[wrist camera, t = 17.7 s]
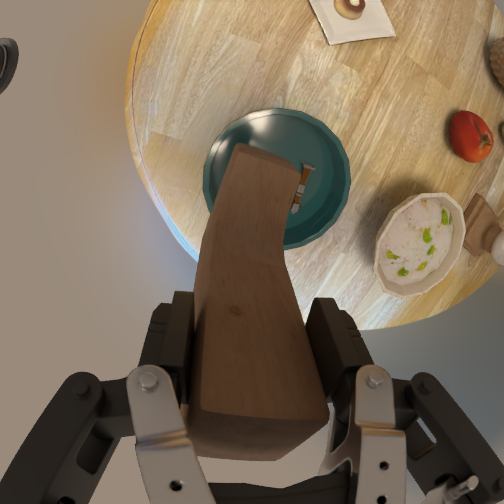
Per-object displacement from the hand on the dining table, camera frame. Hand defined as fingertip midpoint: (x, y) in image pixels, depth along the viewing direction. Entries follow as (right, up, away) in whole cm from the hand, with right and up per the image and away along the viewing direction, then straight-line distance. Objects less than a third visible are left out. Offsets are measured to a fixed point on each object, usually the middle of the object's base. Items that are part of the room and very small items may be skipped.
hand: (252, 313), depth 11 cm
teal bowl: (+3, +14, +29) cm, 32 cm away
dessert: (+14, +39, +16) cm, 44 cm away
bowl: (+26, +7, +35) cm, 44 cm away
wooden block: (-1, +7, +12) cm, 14 cm away
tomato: (+37, +24, +26) cm, 52 cm away
